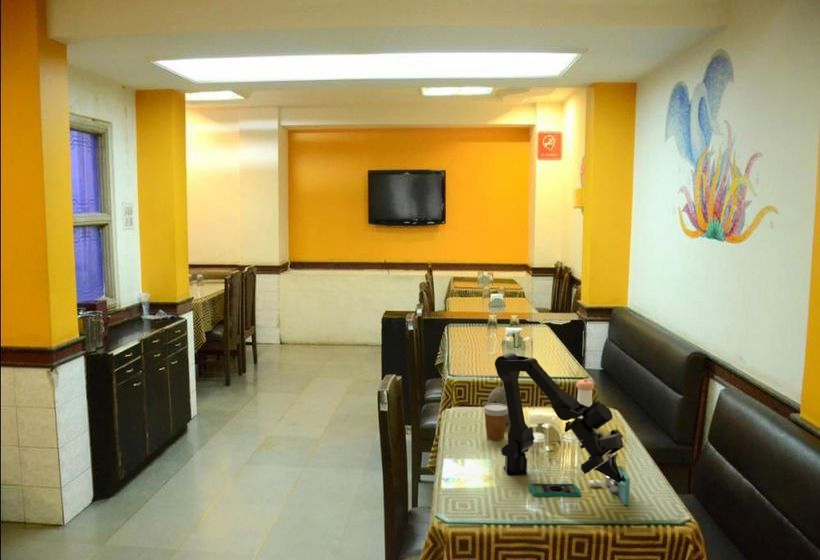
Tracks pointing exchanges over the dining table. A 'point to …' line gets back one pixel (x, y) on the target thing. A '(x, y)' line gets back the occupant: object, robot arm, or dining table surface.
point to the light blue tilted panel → (621, 486)
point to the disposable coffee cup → (495, 420)
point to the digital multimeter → (554, 490)
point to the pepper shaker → (585, 392)
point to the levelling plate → (599, 482)
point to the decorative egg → (498, 398)
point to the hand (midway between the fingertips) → (620, 481)
